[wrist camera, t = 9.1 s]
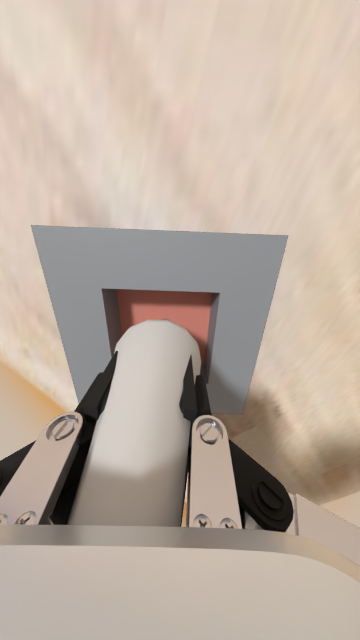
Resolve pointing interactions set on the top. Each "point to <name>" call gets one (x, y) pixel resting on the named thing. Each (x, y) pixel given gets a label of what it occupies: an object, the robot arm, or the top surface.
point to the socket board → (162, 297)
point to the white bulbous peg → (140, 434)
